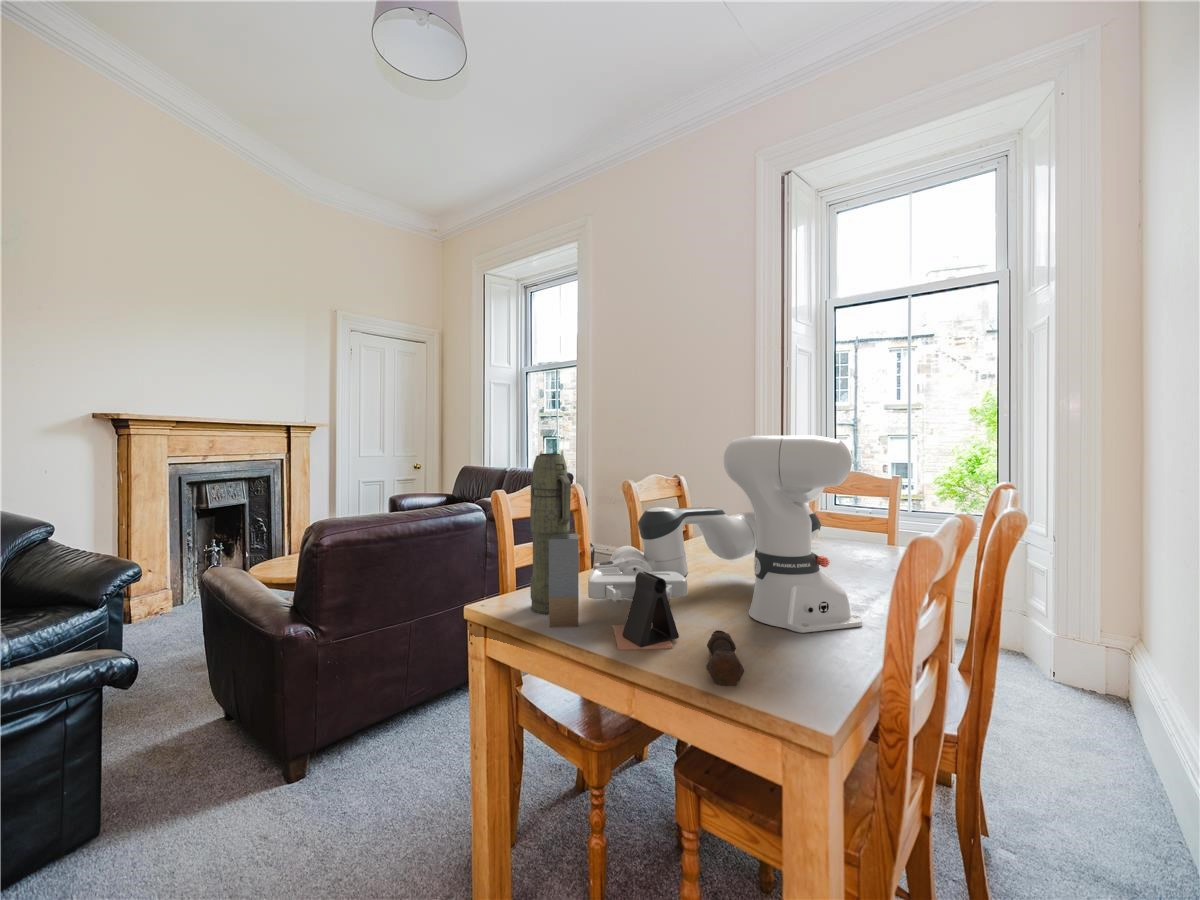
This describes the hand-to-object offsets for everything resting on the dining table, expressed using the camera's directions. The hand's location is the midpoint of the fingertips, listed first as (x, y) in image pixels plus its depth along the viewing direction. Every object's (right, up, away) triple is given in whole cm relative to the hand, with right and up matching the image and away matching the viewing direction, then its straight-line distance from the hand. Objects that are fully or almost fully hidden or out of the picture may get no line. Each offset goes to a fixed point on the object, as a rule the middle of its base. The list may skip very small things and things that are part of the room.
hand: (641, 597), depth 100 cm
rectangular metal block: (-16, -8, +10) cm, 20 cm away
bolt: (+13, -9, -11) cm, 19 cm away
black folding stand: (+2, -8, 0) cm, 8 cm away
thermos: (-19, -8, +18) cm, 28 cm away
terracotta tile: (0, -8, +1) cm, 8 cm away
